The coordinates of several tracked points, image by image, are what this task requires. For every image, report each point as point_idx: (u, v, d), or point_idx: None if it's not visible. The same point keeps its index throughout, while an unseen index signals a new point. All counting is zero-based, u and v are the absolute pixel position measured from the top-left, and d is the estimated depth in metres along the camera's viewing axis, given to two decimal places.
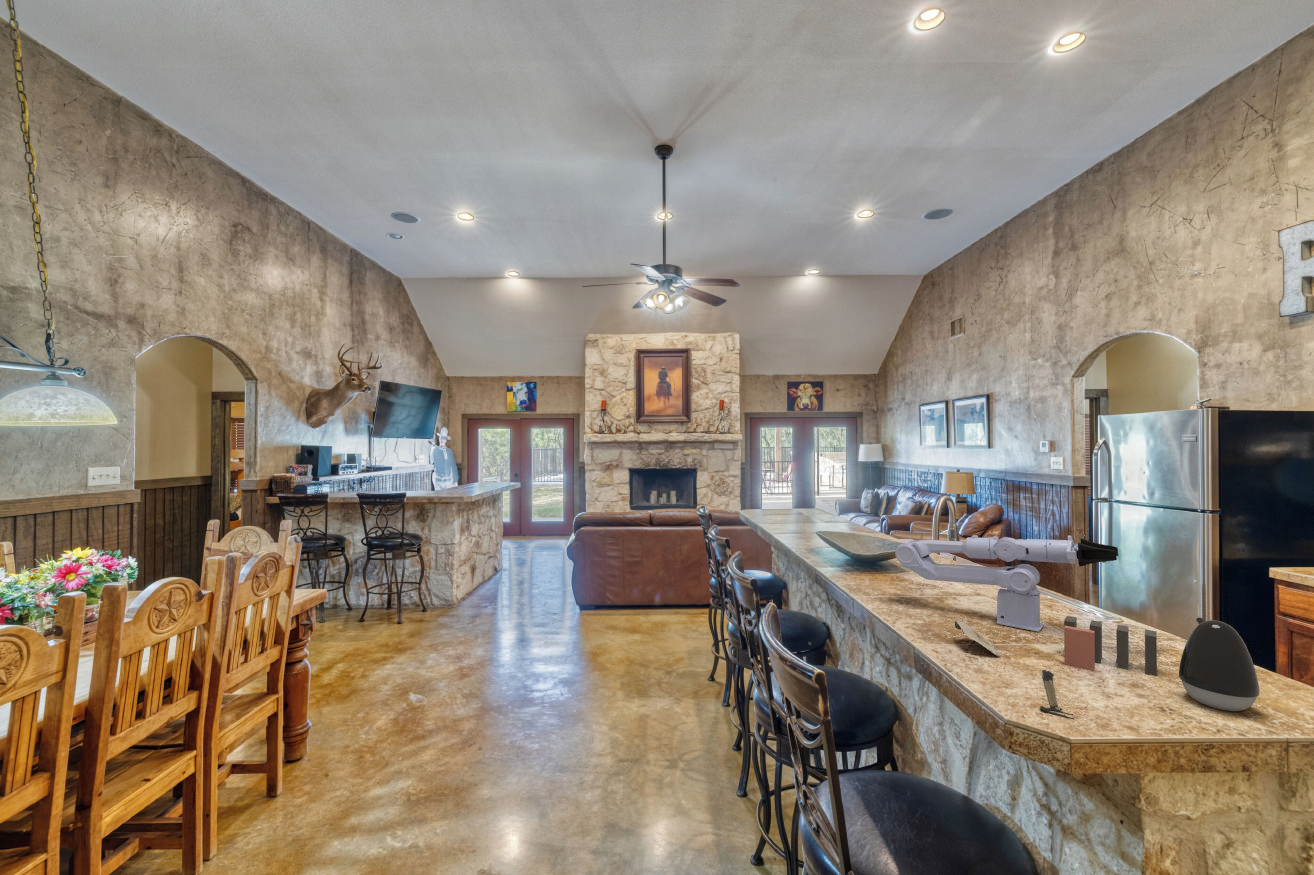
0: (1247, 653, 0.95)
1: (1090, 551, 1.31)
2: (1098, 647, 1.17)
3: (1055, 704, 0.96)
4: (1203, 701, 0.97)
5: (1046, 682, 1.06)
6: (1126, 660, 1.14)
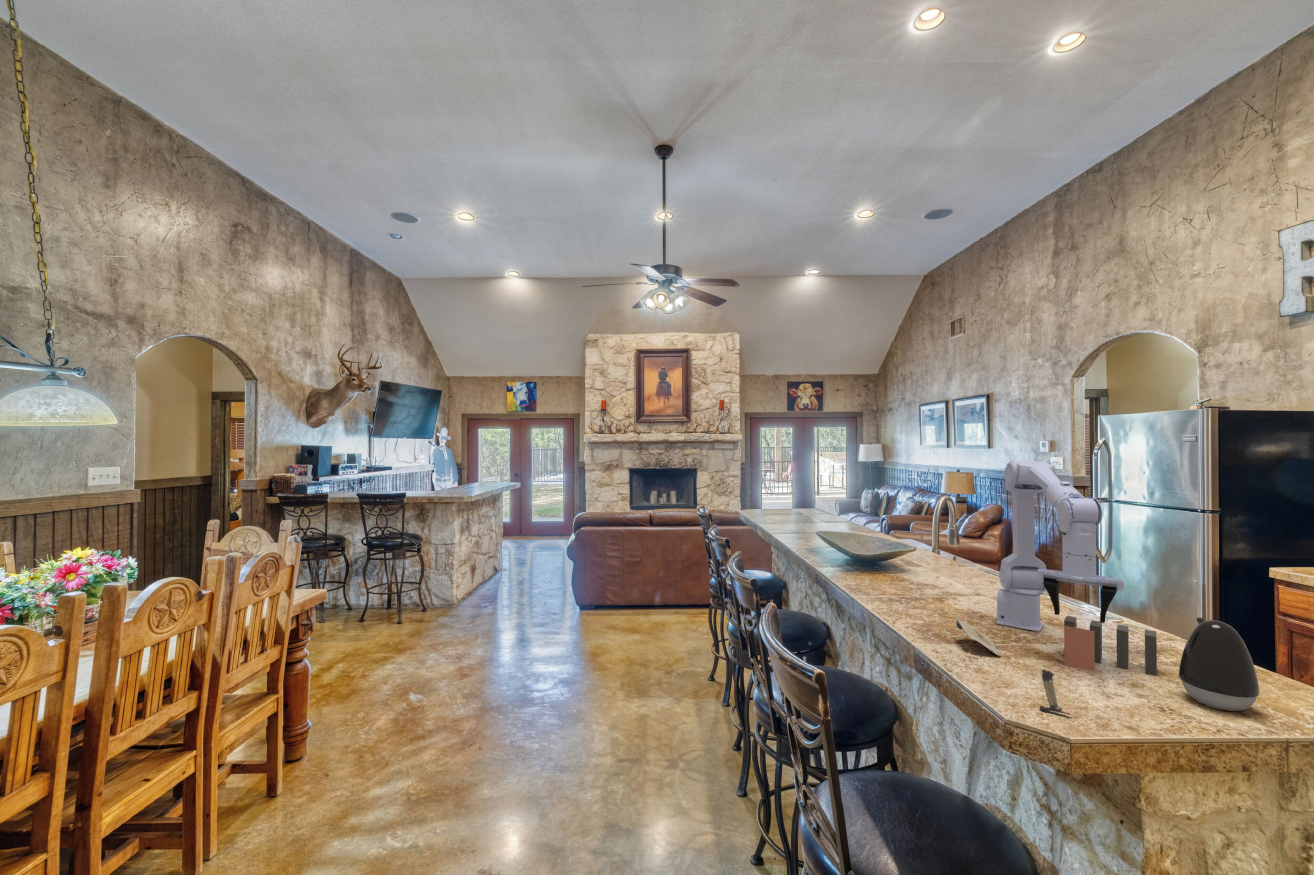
0: (1247, 653, 0.95)
1: None
2: (1098, 647, 1.17)
3: (1055, 704, 0.96)
4: (1203, 701, 0.97)
5: (1046, 682, 1.06)
6: (1126, 660, 1.14)
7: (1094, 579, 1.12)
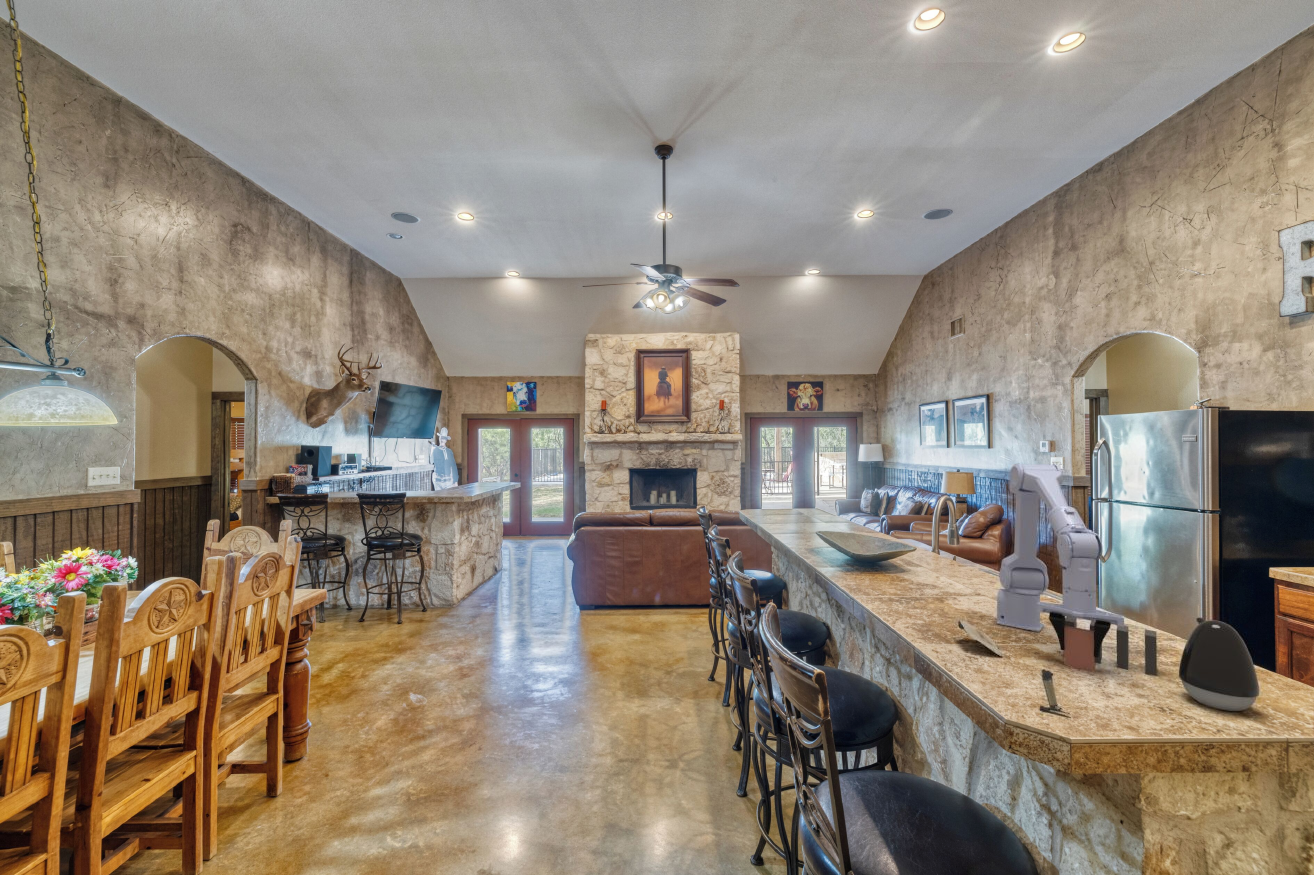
0: (1247, 653, 0.95)
1: None
2: None
3: (1055, 703, 0.97)
4: (1203, 701, 0.97)
5: (1046, 681, 1.06)
6: (1126, 660, 1.14)
7: (1094, 615, 1.12)
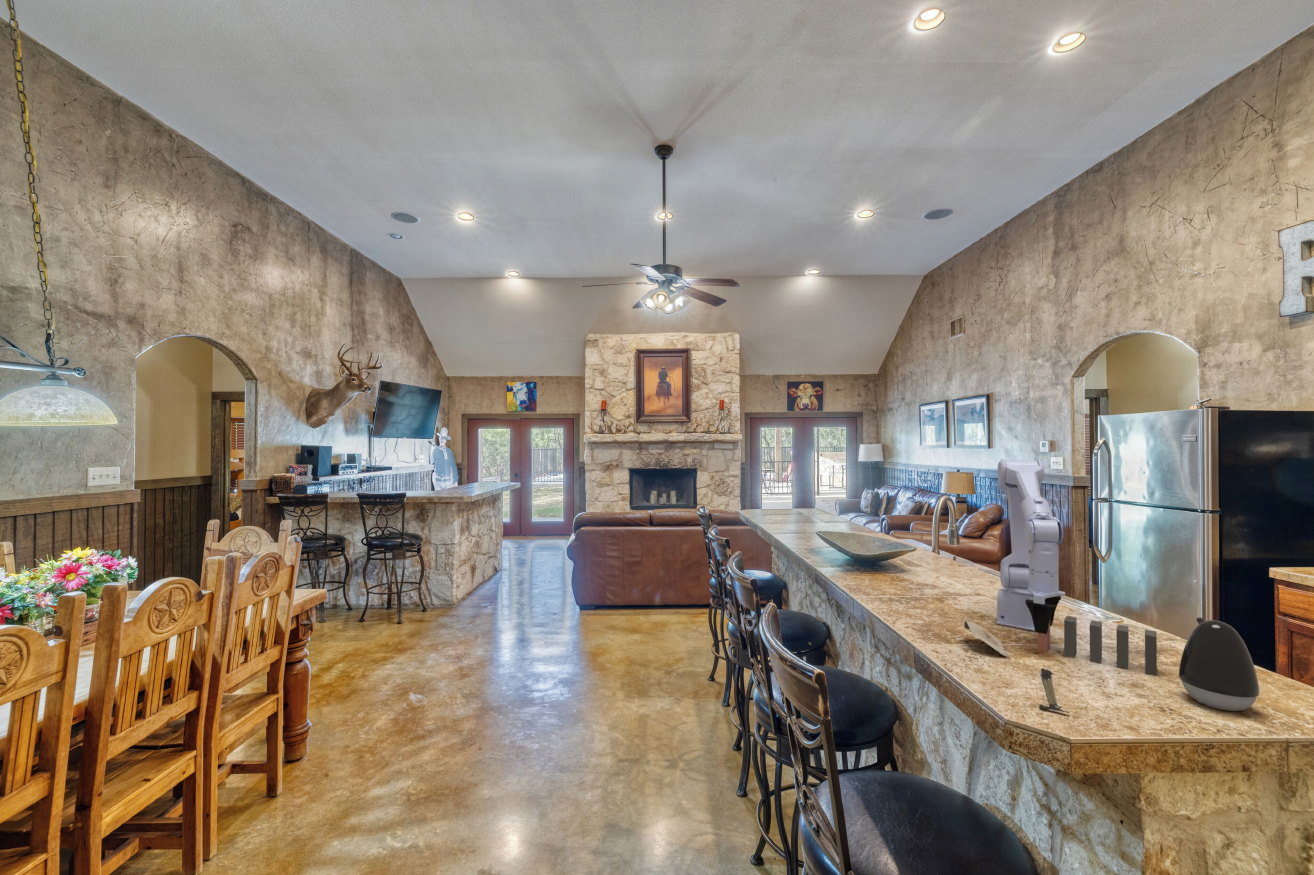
0: (1247, 653, 0.95)
1: (1044, 613, 1.22)
2: (1098, 647, 1.17)
3: (1054, 702, 0.97)
4: (1203, 701, 0.97)
5: (1045, 680, 1.06)
6: (1126, 660, 1.14)
7: None
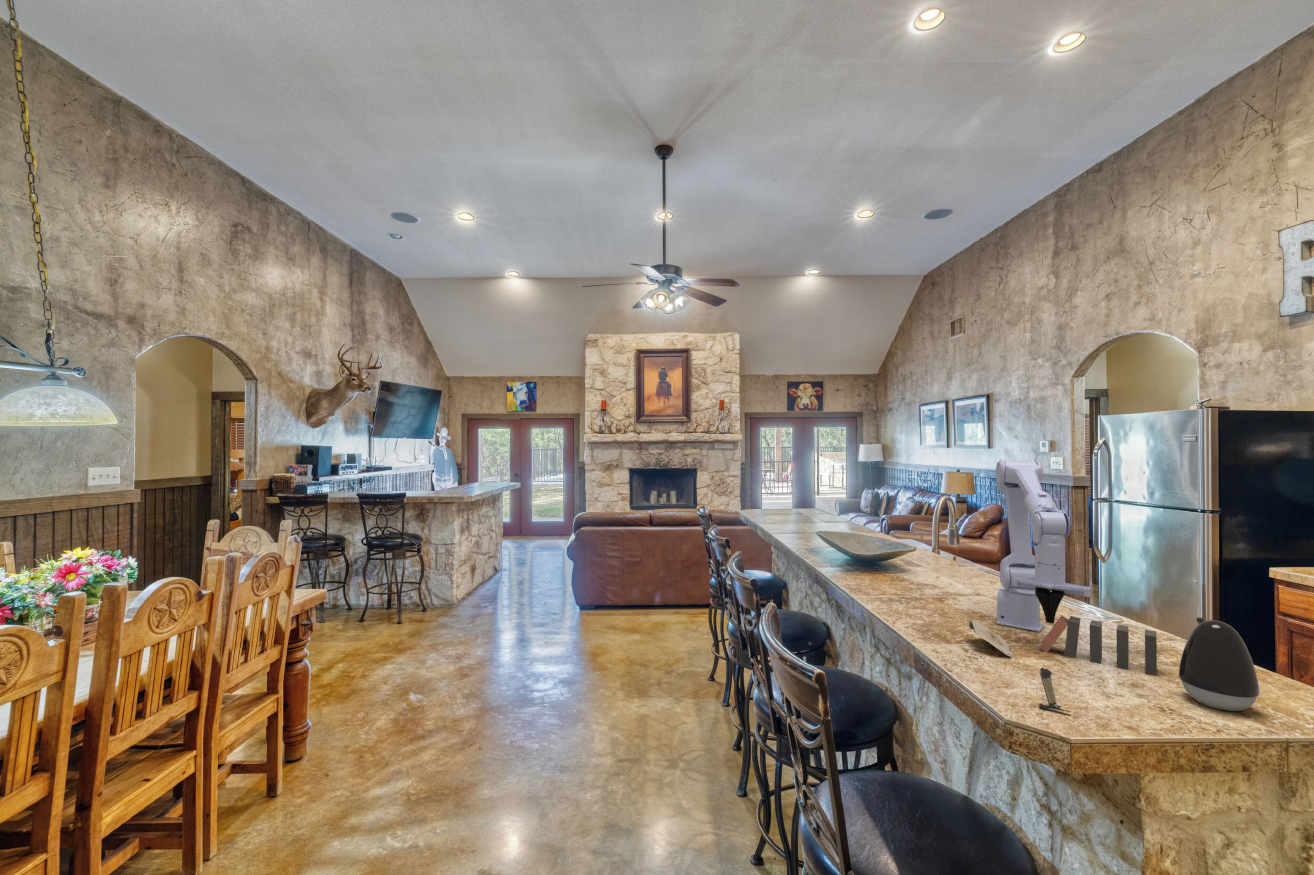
0: (1247, 653, 0.95)
1: None
2: (1098, 647, 1.17)
3: (1054, 701, 0.97)
4: (1203, 701, 0.97)
5: (1044, 680, 1.07)
6: (1126, 660, 1.14)
7: (1063, 587, 1.22)
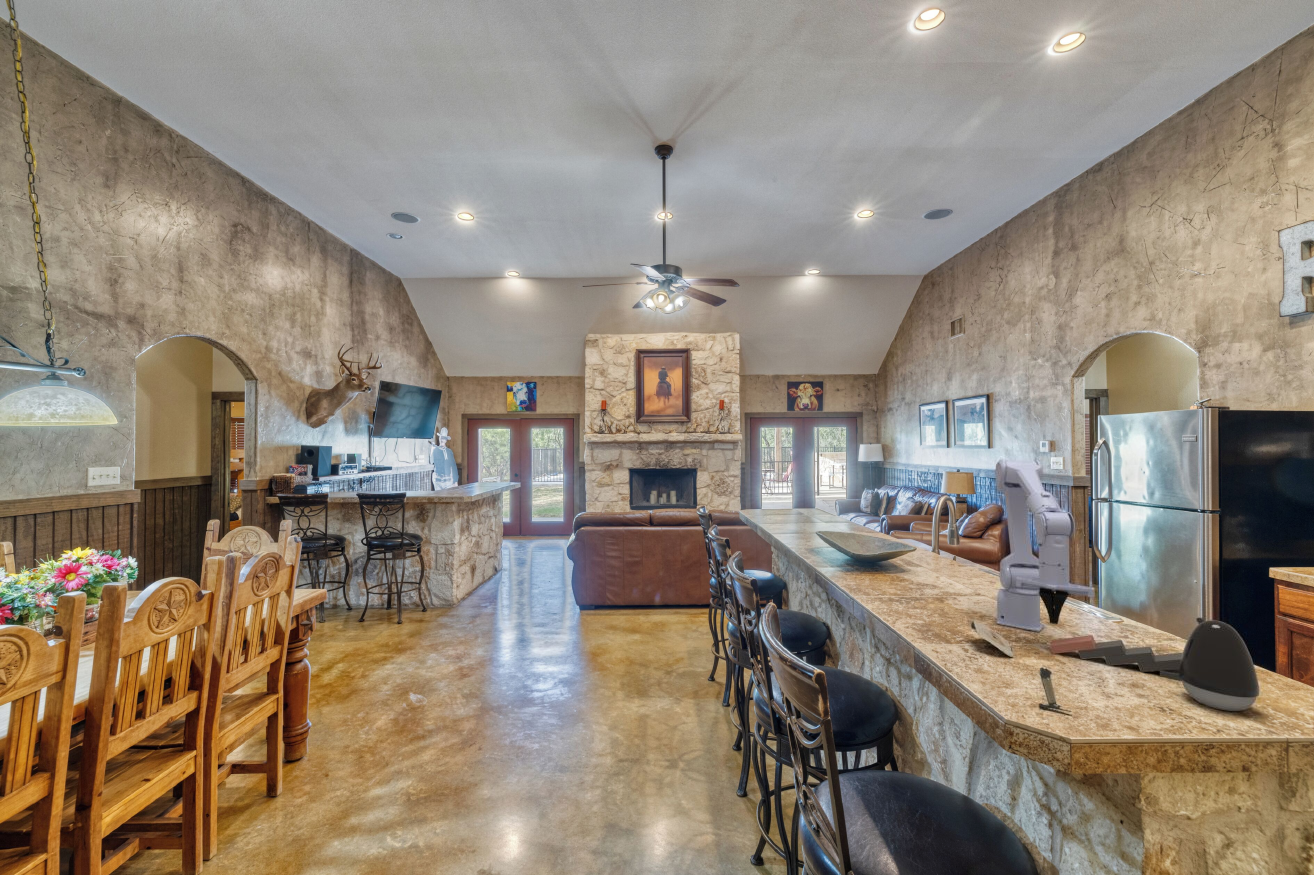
0: (1247, 653, 0.95)
1: None
2: (1127, 662, 1.14)
3: (1053, 701, 0.98)
4: (1203, 701, 0.97)
5: (1044, 679, 1.07)
6: (1152, 669, 1.12)
7: (1067, 587, 1.21)
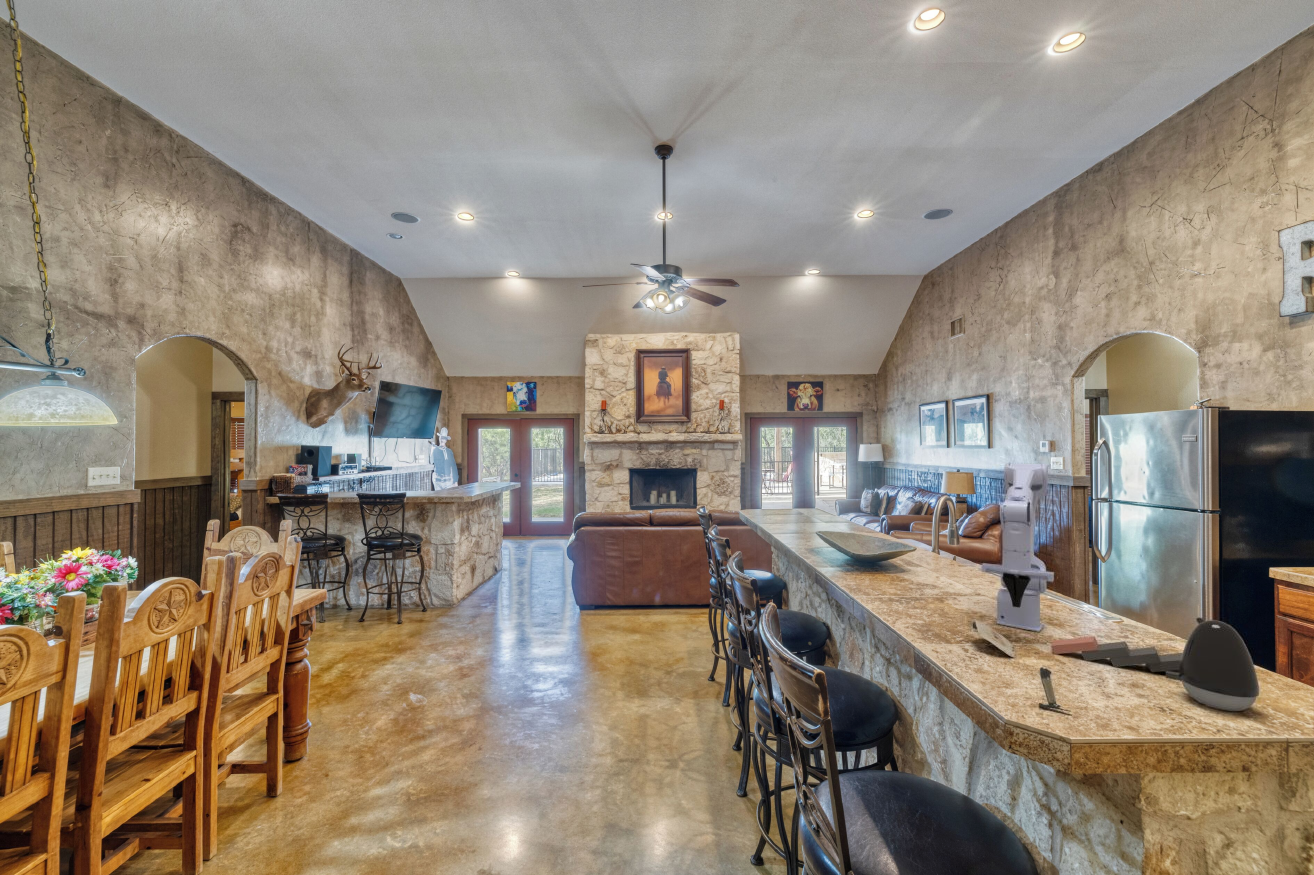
0: (1247, 653, 0.95)
1: None
2: (1133, 663, 1.14)
3: (1053, 701, 0.98)
4: (1203, 701, 0.97)
5: (1044, 679, 1.07)
6: (1163, 669, 1.11)
7: (1028, 572, 1.27)
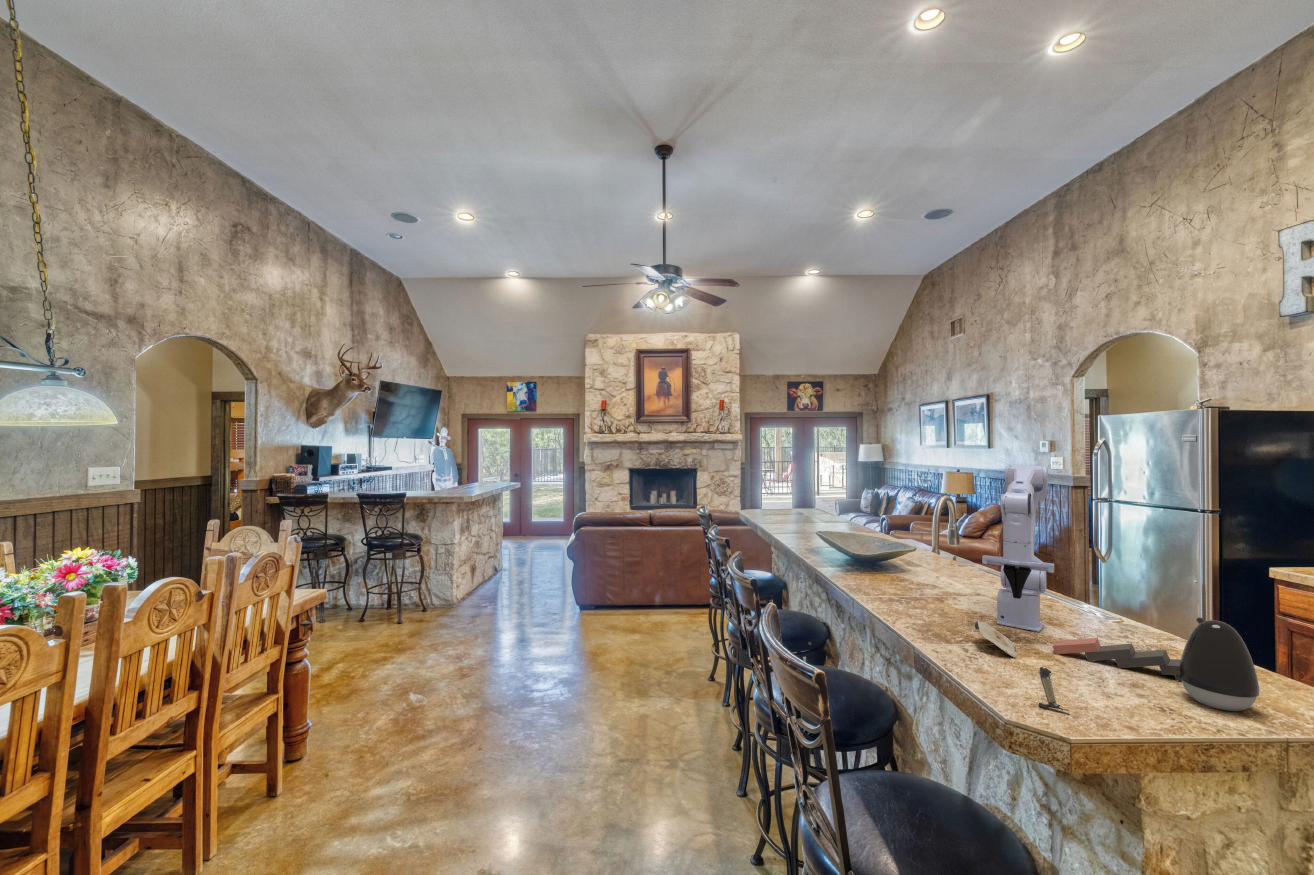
0: (1247, 653, 0.95)
1: None
2: (1138, 665, 1.12)
3: (1053, 700, 0.98)
4: (1203, 701, 0.97)
5: (1044, 679, 1.07)
6: (1174, 673, 1.09)
7: (1028, 563, 1.28)
